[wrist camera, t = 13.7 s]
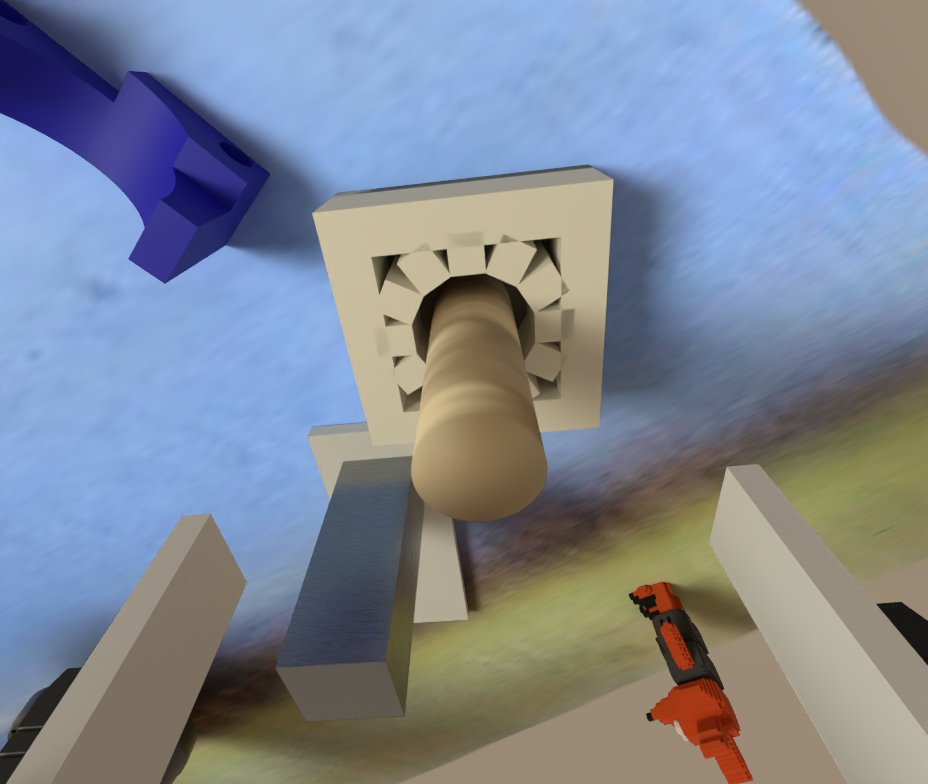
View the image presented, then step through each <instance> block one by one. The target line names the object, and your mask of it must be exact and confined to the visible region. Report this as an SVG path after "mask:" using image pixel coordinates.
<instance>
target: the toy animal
mask: <svg viewBox="0 0 928 784" xmlns="http://www.w3.org/2000/svg"><path fill="white" fill-rule="evenodd" d="M637 589H638V590H636V592H633V593H631V594H629V597H630V599H631V600H633V602H634V604H635V605H636V604H639V606H640V607H639V609H640V612H641V613H642V614H643V615H644V617H645V618H647V617H649V619H650V620H653V621H652V623H653V626H654V629H655V631H656V634H657V638H655V639H656V641H657V643H658V645H659V647H660V650H661V652H662V654H663V656H664V658H665V660H666V662H667V665H668V668H669V671H670V673H671V676H672V678H673V679H674V681H675V682H676V683H677V685H678V686H676V687H673V689H671V691H670V693H668V697H667V698H664V699H661V701H660V702H659V703H656V707H654V709H651V710H650V711H651V713H647V714H646V715H647V719H648V720H649V721H653V720H657V719H658V720H659V721H660V722H662V723H664V725H666V724H672V725H673V726H674V727H675V729H676V730H677V733H678V734H679V735H682V737H683V740H684V741H690V742H691V743H693V744H694V745H696V746H697V745H699V746H700V749H701V751H702V753H703V755H704V757H705V758H706V759H707V758H711V757H715V759H716V760H717V763H718V764H719V766H720V769H721V770H722V773H723V774H724V775H725V777H726V779H727V781H728V783H729V784H739V783H743V782H748V781H752V780H753V779H752V776H751V774H750V772H749V770H748V768H747V765H746V763H745V761H744V759H743V757H742V755H741V753H740V751H739V749H738V747H737V746H736V743H735V741H734V739H733V737H736V736H740V734H739V732H738V731H740V727H739V724H738V722H737V719H736V716H735V713H734V711H733V709H732V707H731V704H730V702H729V700H728V698H727V697H726V695H725V694H724V693H723V691H722V690H723V689H724V687H723V684H722V682H721V680H720V677H719V675H718V673H717V671H716V668H715V666H714V664H713V663H712V661H711V660H710V658H709V657H708V656H707V654H709V653H708V650H707V648H706V645H705V643H704V641H703V639H702V636H701V634H700V632H699V630H698V629H697V627H696V626H695V625H694V623H692V622H691V619H690V617H689V616H688V615H687V613H686V612H685V610H682V609H684V608H683V606H682V604H681V601H680V599H679V597H675V598H673V596H672V595H674V594H673V591H672V589H671V587H670V584H669V583H666V584H663V582H660V583H658V584H655V585H652V586H650V587H649V585H648V586H646V585H644V586H642V587H639V588H637Z"/></svg>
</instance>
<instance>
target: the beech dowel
mask: <svg viewBox="0 0 928 784" xmlns="http://www.w3.org/2000/svg"><path fill="white" fill-rule="evenodd" d="M411 476H412V481H413V484H414V487H415V489H416V491H417V493H418V494H419V496H420V497H421V498H422V499H423V500H424V502H425V503H426V504H428V505H429V506H430V507H431V508H433V509H434V510H436V511H437V512H439V513H441V514H443V515H446V516H448V517H451V518H454V519H458V520H463V521H471V522H486V521H494V520H498V519H502V518H505V517H508V516H511V515H513V514H515V513H517V512H519V511H521V510H523V509H524V508H525V507H527V506H528V505H529V504H530V503H532V502H533V501H534V500H535V498H536V497H537V496H538V495H539V493H540V492H541V490H542V489H543V486H544V484H545V481H546V477H547V461H546V457H545V452H544V448H543V443H542V439H541V434H540V430H539V425H538V421H537V416H536V412H535V408H534V403H533V399H532V394H531V390H530V385H529V381H528V376H527V372H526V367H525V363H524V358H523V354H522V349H521V345H520V341H519V336H518V332H517V327H516V323H515V318H514V314H513V309H512V305H511V300H510V296H509V293H508V291H507V289H506V287H505V285H504V284H503V283H502V282H501V281H500V280H499V279H497V278H495V277H493V276H490V275H488V274H486V273H484V274H474V275H464V276H454V277H450V278H449V279H447V280H446V281H444V282H443V283H442V285H441V286H440V288H439V290H438V292H437V294H436V298H435V303H434V310H433V317H432V324H431V331H430V338H429V345H428V352H427V359H426V366H425V373H424V381H423V388H422V395H421V402H420V409H419V416H418V423H417V430H416V437H415V444H414V451H413V458H412V465H411Z"/></svg>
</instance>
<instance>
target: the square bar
mask: <svg viewBox="0 0 928 784" xmlns="http://www.w3.org/2000/svg"><path fill="white" fill-rule="evenodd" d="M412 458H413V456H404V457H391V458H379V459H367V460H355V461H343V463H342V466H341V469H340V472H339V475H338V478H337V481H336V484H335V487H334V490H333V493H332V497H331V500H330V503H329V506H328V509H327V512H326V515H325V518H324V521H323V524H322V527H321V530H320V533H319V536H318V539H317V542H316V545H315V548H314V551H313V554H312V557H311V560H310V563H309V567H308V570H307V573H306V576H305V579H304V582H303V585H302V588H301V591H300V594H299V597H298V600H297V603H296V606H295V609H294V612H293V615H292V618H291V621H290V624H289V627H288V630H287V633H286V636H285V640H284V643H283V646H282V649H281V652H280V655H279V658H278V661H277V664H276V667H275V669H276V670H277V672H278V674H279V675H280V677H281V679H282V681H283V682H284V684H285V686H286V688H287V689H288V691H289V693H290V694H291V696H292V698H293V700H294V701H295V703H296V705H297V706H298V708H299V710H300V712H301V713H302V715H303V717H304V719H305V720H306V722H307V721H327V720H346V719H366V718H385V717H405V706H406V696H407V686H408V675H409V665H410V654H411V644H412V633H413V623H414V612H415V602H416V591H417V581H418V570H419V560H420V549H421V539H422V528H423V518H424V502H423V499H422V498H421V497H420V496H419V494H418V493H417V491H416V489H415V487H414V484H413V481H412V476H411V465H412Z"/></svg>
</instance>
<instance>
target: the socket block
mask: <svg viewBox="0 0 928 784" xmlns="http://www.w3.org/2000/svg"><path fill="white" fill-rule="evenodd" d="M612 197H613V179H612V178H610V177H608V176H607V175H605V174H603V173H601V172H600V171H598V170H596V169H595V168H593V167H591V166H589V165H581V166H572V167H564V168H555V169H546V170H537V171H528V172H520V173H511V174H502V175H493V176H484V177H475V178H467V179H458V180H449V181H440V182H431V183H423V184H414V185H405V186H396V187H387V188H378V189H370V190H361V191H352V192H343V193H337V194H336V195H334V196H333V197H332V198H330V199H329V200H328V201H327V202H325V203H324V204H323V205H322V206H320V207H319V208H318V209H317V210H315V211H314V212H313V213H312V215H313V218H314V222H315V226H316V230H317V234H318V238H319V241H320V245H321V249H322V253H323V257H324V261H325V264H326V268H327V272H328V276H329V280H330V283H331V287H332V291H333V295H334V299H335V303H336V306H337V310H338V314H339V318H340V322H341V326H342V329H343V333H344V337H345V341H346V345H347V349H348V352H349V356H350V360H351V364H352V368H353V372H354V375H355V379H356V383H357V387H358V391H359V395H360V398H361V402H362V406H363V410H364V414H365V418H366V421H367V425H368V429H369V433H370V437H371V441H372V444H373V446H382V445H394V444H406V443H415V437H416V430H417V423H418V416H419V409H420V402H421V395H422V388H423V381H424V373H425V366H426V359H427V352H428V345H429V338H430V331H431V324H432V317H433V310H434V303H435V298H436V294H437V292H438V290H439V288H440V286H441V285H442V283H443V282H444V281H446V280H447V279H449V278H450V277H454V276H464V275H474V274H484V273H486V274H488V275H490V276H493V277H495V278H497V279H499V280H500V281H501V282H502V283H503V284H504V285H505V287H506V289H507V291H508V293H509V296H510V300H511V305H512V309H513V314H514V318H515V323H516V327H517V332H518V336H519V341H520V345H521V349H522V354H523V358H524V363H525V367H526V372H527V376H528V381H529V385H530V390H531V394H532V399H533V403H534V408H535V412H536V416H537V421H538V425H539V430H540V432H551V431H563V430H575V429H587V428H599V426H600V408H601V391H602V373H603V355H604V338H605V320H606V302H607V285H608V267H609V249H610V232H611V214H612Z"/></svg>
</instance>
